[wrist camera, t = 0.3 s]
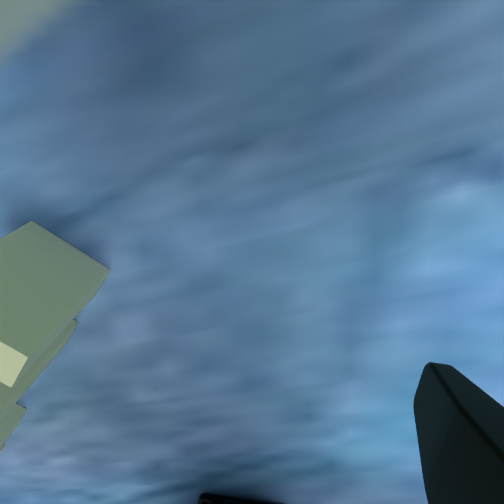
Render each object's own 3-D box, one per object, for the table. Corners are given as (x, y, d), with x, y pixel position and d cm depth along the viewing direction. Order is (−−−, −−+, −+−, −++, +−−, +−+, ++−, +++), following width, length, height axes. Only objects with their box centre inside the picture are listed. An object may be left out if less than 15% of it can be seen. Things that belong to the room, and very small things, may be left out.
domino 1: (31, 220, 24) (-89, 290, 17) (110, 269, 25) (28, 357, 17) (19, 247, 25) (-101, 324, 17) (95, 294, 25) (11, 387, 18)
